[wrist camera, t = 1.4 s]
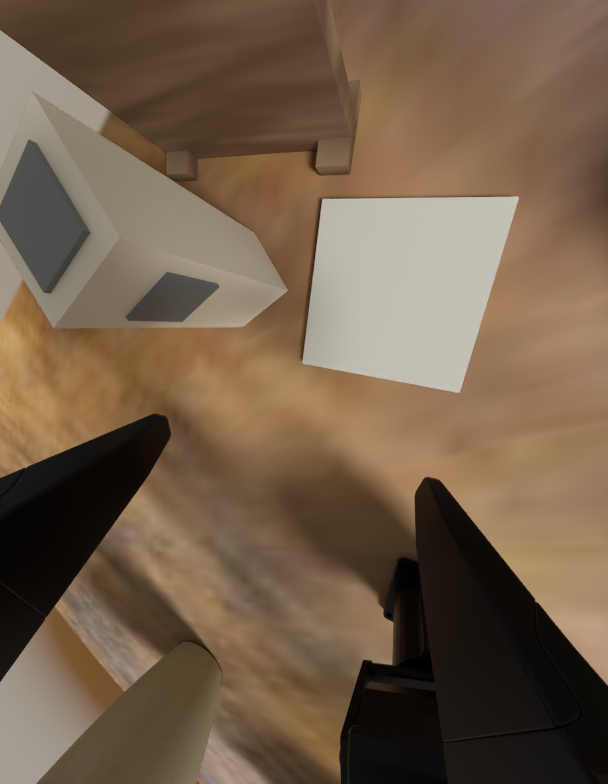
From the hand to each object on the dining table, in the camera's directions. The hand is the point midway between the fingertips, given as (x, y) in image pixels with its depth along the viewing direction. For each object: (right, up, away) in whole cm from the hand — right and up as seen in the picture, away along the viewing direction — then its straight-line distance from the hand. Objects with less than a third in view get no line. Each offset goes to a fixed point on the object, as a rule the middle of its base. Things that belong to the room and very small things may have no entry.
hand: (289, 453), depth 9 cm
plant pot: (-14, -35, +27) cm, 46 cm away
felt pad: (+6, +9, +9) cm, 14 cm away
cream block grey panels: (-4, +11, +12) cm, 16 cm away
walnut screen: (-3, +19, +9) cm, 22 cm away
